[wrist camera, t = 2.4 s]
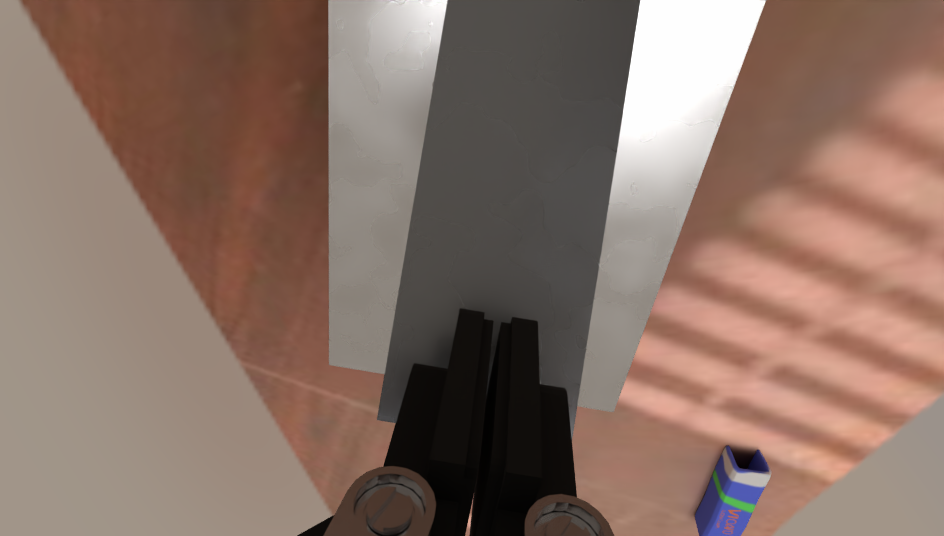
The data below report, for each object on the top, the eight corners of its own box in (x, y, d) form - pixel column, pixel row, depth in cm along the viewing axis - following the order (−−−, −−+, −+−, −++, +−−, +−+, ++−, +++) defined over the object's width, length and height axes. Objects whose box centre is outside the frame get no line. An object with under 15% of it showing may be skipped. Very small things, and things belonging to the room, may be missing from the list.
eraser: (761, 446, 28) (776, 477, 27) (724, 516, 32) (735, 549, 30) (723, 441, 29) (736, 472, 27) (690, 511, 32) (700, 544, 30)
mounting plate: (343, -218, 16) (277, -282, 12) (800, -149, 16) (899, -188, 12) (338, 345, 27) (302, 417, 23) (609, 390, 27) (624, 471, 23)
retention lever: (475, -134, 15) (475, -176, 14) (648, -107, 15) (665, -147, 14) (384, 409, 15) (375, 422, 14) (562, 438, 15) (571, 454, 13)
